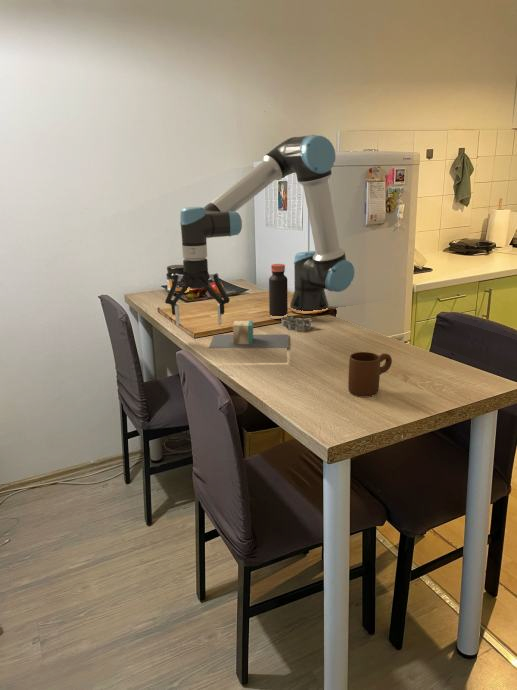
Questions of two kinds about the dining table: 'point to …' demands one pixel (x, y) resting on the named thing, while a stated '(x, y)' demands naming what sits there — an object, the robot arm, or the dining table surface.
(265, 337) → the rubber mat
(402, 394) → the dining table surface
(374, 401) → the dining table surface
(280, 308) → the bottle
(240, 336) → the maple cube
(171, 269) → the supplement container
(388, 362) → the mug
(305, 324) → the egg carton
